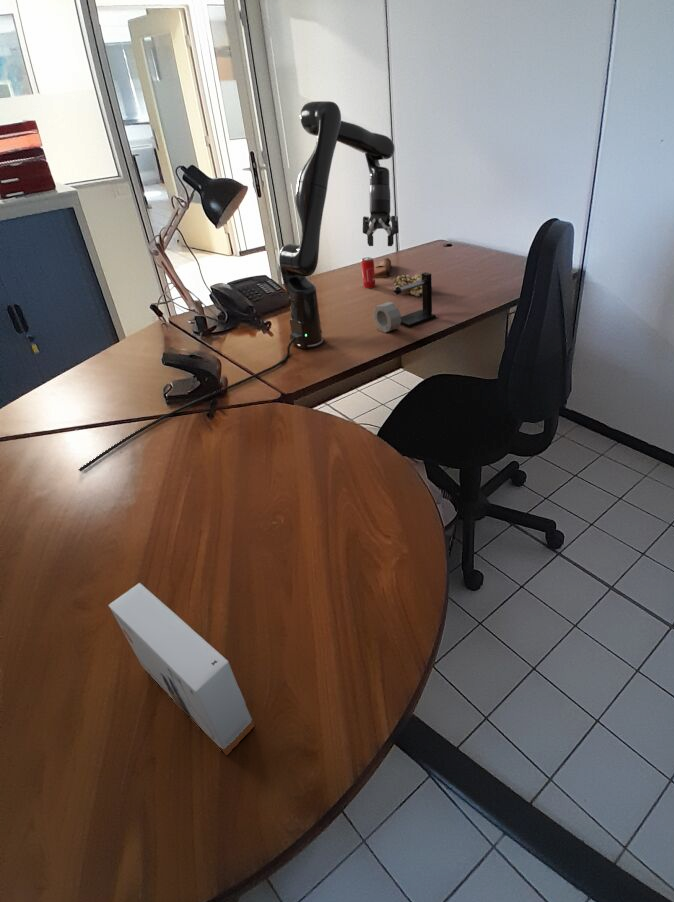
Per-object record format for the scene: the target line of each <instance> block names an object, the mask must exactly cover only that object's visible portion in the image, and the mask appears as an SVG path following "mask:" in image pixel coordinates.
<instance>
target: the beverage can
mask: <svg viewBox="0 0 674 902" xmlns="http://www.w3.org/2000/svg"><path fill="white" fill-rule="evenodd" d="M374 266H375V261H374V258H373V257H369V256H367V257H363V258H361V272H362V284H363V287H364V288H365V289H372V288H375V286H376V277H375V272H374Z"/></svg>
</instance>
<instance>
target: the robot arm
mask: <svg viewBox="0 0 674 902" xmlns="http://www.w3.org/2000/svg"><path fill="white" fill-rule="evenodd" d="M299 117H300V119H299V120H300V123H301V126H302V128H303V129H304V131H305V132H306V133H307V134H309V135H311V136H314V137H316V141H315V146H314V149H313V150H312V153H311V155H310V157H309V158H308V159H307V161H306V162H305V164H304V165H303V167H302V169H301V170H300V172H299V174H298V177H297V181H296V189H295V194H294V201H295V207H296V211H297V214H298V217H299V221H300V224H301V232H300V234H301V235H300V241H299V244H296V243H295V244H294V243H287V244H285V245H284V246H283V247H281V249H280V252H279V257H278V261H279V262H278V263H279V268H280V274H281V278H282V282H283V286H284V287H283V288H284V289H285V291H286V292H287V297H288V302H289V310H290V316H291V318H289V325H290V326H289V327H290V332H291V333H289V339H290V342H289V343H288V344H287V347H286V355H285V357H284V358H283V359H281V360H280V361H278V362H277V363H275V364H273V365H272V366H270V367H267V368H264V369H263V370H261V371H259V372H256V373H255V374H252V375H250V376H248V377H245V378H243V379H241V380H239V381H237V382H234V383H232V384H230V385H227V386H225V387H226V388H225V387H223V388H221V390H220V389H218V390H219V391H218V390H216V391H217V392H216V391H214V392H212V394H211V393H209V394H210V395H209V394H206V395H204V396H202V397H199V398H198V399H196V400H193V401H191V402H189V403H186V404H184V405H182V406H181V407H179V408H176V409H174V410H173V411H171V413H170V412H168V413H166V414H167V415H166V414H164V415H165V416H164V415H162V416H160V417H159V418H157V419H155V420H156V421H155V420H153V421H154V422H153V421H151V422H152V423H151V422H149V423H147V424H146V425H147V426H146V425H144V426H145V427H144V426H143V428H142V427H141V428H139V429H140V430H139V429H137V430H138V431H137V430H135V431H134V432H135V433H134V432H132V433H133V434H132V433H131V434H129V435H130V436H129V435H127V436H128V437H127V436H126V437H124V438H125V439H124V438H122V439H121V440H122V441H121V440H119V441H120V442H119V441H118V442H119V443H118V442H116V443H117V444H116V443H115V444H113V445H114V446H113V445H112V446H110V447H111V448H110V447H109V448H107V449H108V450H107V449H106V450H104V451H105V452H104V451H102V452H101V453H102V454H101V453H100V454H98V455H99V456H98V455H96V456H95V457H96V458H95V457H94V458H95V459H94V458H92V459H93V460H92V459H91V460H92V461H91V460H89V461H88V462H89V463H88V462H86V463H85V464H86V465H85V464H83V465H82V466H83V467H82V466H81V467H79V468H80V469H79V468H78V471H79V472H83V471H84V470H85V469H87V468H88V467H90V466H91V465H93V464H94V463H96V462H97V461H98V460H100V459H101V458H103V457H104V456H106V455H107V454H109V453H110V452H112V451H113V450H115V449H116V448H118V447H120V446H121V445H122V444H124V443H125V442H127V441H128V440H130V439H132V438H133V437H135V436H136V435H139V434H140V433H142V432H144V431H145V430H147V429H148V428H150V427H152V426H154V425H156V424H157V423H159V422H161V421H163V420H165V419H168V418H169V417H171V416H173V415H175V414H177V413H179V412H181V411H183V410H185V409H187V408H190V407H192V406H194V405H195V404H198V403H201V402H202V401H206V400H207V399H209V398H211V397H213V396H216V395H218V394H220V393H223V392H225V391H228V390H230V389H232V388H234V387H237V386H239V385H242V384H243V383H245V382H247V381H250V380H253V379H254V378H256V377H258V376H260V375H263V374H265V373H268V372H270V371H272V370H274V369H276V368H277V367H279V366H280V365H282V364H283V363H285V362H286V361H287V360H288V358H289V356H290V352H291V350H290V349H291V346H292V345H293V346H294V347H297V348H300V349H303V350H307V349H312V348H317V347H319V346H321V345H322V344H324V339H323V332H322V324H321V318H320V310H319V309H320V308H319V302H318V301H319V300H318V294H317V287H316V285H315V283H313V282H312V281H311V280H310V279H308V277H310V276H312V275H314V273H315V271H316V270H317V267H318V262H319V253H320V240H321V229H322V222H323V215H324V209H325V203H326V199H327V193H328V187H329V178H330V173H331V168H332V162H333V159H334V153H335V149H336V146H337V142H339V143H340V144H343V145H345V146H348V147H349V148H352V149H353V150H355V151H358V152H359V153H363V154H364V157H365V159H366V163H367V168H368V171H369V191H368V192H369V214H370V216H363V217H362V234H364V235H366V236H367V237H366V238H367V239H366V240H367V245H368V247H373V246H374V233H375V232H376V231H377V230H380V229H381V230H384V231H385V232H386V233H387V247H393V245H394V242H395V241H394V239H395V238H394V236H395V235H397V234H399V217H398V215H391V188H390V187H391V185H390V180H391V179H390V177H391V176H390V169H389V168H388V167H386V166H382V165H381V163H380V161H383V160H389V159H391V158H392V157H393V156H394V154H395V150H396V149H395V144H394V142H393V140H392V139H391V138H390V137H389V136H387V135H384V134H380V133H377V132H371V131H369V129H367V128H365V127H363V126H360V125H358V124H355V123H352V122H347V121H344V120H342V113H341V109H340V107H339V105H338V104H337V103H336V102H334V101H329V100H324V101H323V100H322V101H318V100H317V101H310V102H309V101H308V102H306V103H305V104H304V105H303V106H302V108H301V110H300V114H299ZM390 222H391V224H390Z"/></svg>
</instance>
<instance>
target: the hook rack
mask: <svg viewBox="0 0 674 902" xmlns="http://www.w3.org/2000/svg"><path fill="white" fill-rule="evenodd" d="M421 275H422V281H419V282H416V283H413V284H410V285H406V286H403V287H396V288H395V287H394V289H393V292H394V294H395V295H400V294H401V293H402V292H406V290H409V289H412V288H415V287H418V286H422V294H421V295H422V309H419V310H417V311H414V312H411V313H408V314H405V315H402V316H401V324H400V326H401V325H402V326H404V327H406V328H409V329H410V328H412V327H415V326H417V325H420V324H423V323H425V322H428V321H431V320H434V319H436V318H437V317H436V314H434V313H433V292H432V291H433V290H432V288H433V287H432V284H433V283H432V273H429V272H422V273H421Z"/></svg>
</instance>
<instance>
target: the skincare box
mask: <svg viewBox="0 0 674 902" xmlns="http://www.w3.org/2000/svg"><path fill="white" fill-rule="evenodd" d="M108 607H109V608H110V610H111V613H112V614H113V616H114V618H115V620H116V622H117V623H118V625H119V627H120V629H121V631H122V632H123V634H124V636H125V638H126V641H128V643H129V645H130V647H131V648H132V651H133V652H134V654H135V657H136V658H137V659H138V662H139V663H140V665H141V667H142V666H143V667H142V669H143V668H144V669H145V670H146V671H147V672H148V673H149V674H150V675H151V677H152V678H153V679H154V680H155V681H156V682H157V683H158V684H159V685H160V686H161V687H162V688H163V689H164V690H165V691H166V692H167V693H168V694H169V696H170V697H171V698H172V699H173V700H174V701H175V702H176V703H177V704H178V705H179V706H180V707H181V708H182V709H183V710H184V711H185V712H186V713H187V714H188V715H189V716H190V717H191V718H192V719H193V720H194V721H195V722H196V723H197V725H198V726H199V727H200V728H201V729H202V730H203V731H204V732H205V733H206V734H207V735H208V736H209V737H210V738H211V739H212V740H213V741H214V742H215V743H216V744H217V745H218V746H219V747H221V748H222V749H225V748H226V747H227V746H228V745H230V743H232V742H233V741H234V740H235V739H236V737H238V736H239V734H240V733H241V732H243V730H244V729H245V728H246V727H247V726H248V725H249V724H250V723H251V721H252V720H253V717H252V716H251V714H250V712H249V709H248V707H247V705H246V700H245V698H244V696H243V693H242V691H241V689H240V687H239V685H238V683H237V679H236V677H235V675H234V672H233V670H232V667H231V664H230V662H229V660H228V659H227V658H226V657H224V656H223V655H222V654H221V653H220V652H219V651H217V650H216V649H215V648H214V647H213V646H212V645H211V644H209V642H207V641H206V639H205V638H203V637H201V635H200V634H198V633H197V632H196V631H195V630H194V629H193V628H191V626H190V625H188V624H187V623H186V622H185V621H184V620H183V619H182V618H180V617H179V616H178V615H177V614H176V613H175V612H173V610H172V609H170V608H169V607H168V606H167V605H166V604H165V603H163V602H162V601H161V600H160V599H159V598H158V597H156V595H155V594H153V593H152V592H151V591H150V590H149V589H147V588H146V587H145V586H144V584H142V583H141V582H138V583H137V584H136V585H134V586H133V587H132V588H130V589H128V590H127V591H125V592H124V593H123V594H121V595H120V596H119V597H117V598H116V599H115V600H113V601H112V602H110V603H109V604H108ZM144 669H143V670H144ZM151 677H150V678H151ZM152 678H151V679H152ZM153 679H152V680H153ZM154 680H153V681H154ZM155 681H154V682H155ZM156 682H155V683H156ZM157 683H156V684H157ZM158 684H157V685H158ZM169 696H168V697H169ZM170 697H169V698H170ZM171 698H170V699H171ZM172 699H171V700H172ZM173 700H172V701H173ZM174 701H173V702H174ZM175 702H174V703H175ZM176 703H175V704H176ZM177 704H176V705H177ZM178 705H177V706H178ZM179 706H178V707H179ZM197 725H196V726H197ZM198 726H197V727H198ZM199 727H198V728H199ZM200 728H199V729H200Z"/></svg>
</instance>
